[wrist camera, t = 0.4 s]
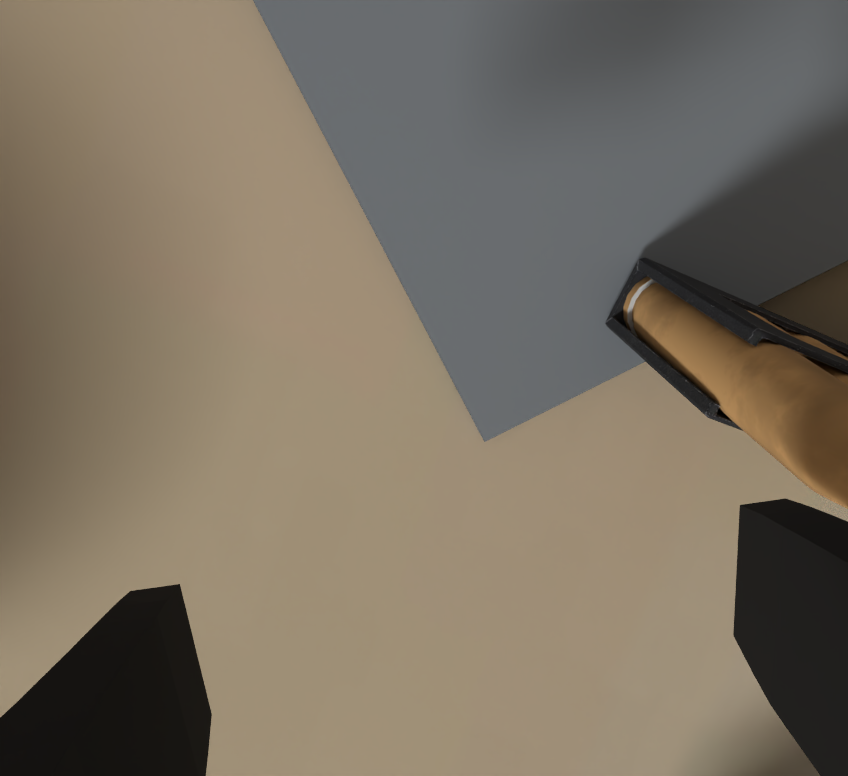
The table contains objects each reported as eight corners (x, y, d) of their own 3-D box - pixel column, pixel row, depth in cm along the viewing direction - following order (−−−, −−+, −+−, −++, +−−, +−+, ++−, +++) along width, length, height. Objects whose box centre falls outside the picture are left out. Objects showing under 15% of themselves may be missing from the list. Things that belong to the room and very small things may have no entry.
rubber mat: (1068, 141, 19) (1082, 142, 19) (481, 435, 20) (484, 442, 20) (954, -554, 14) (970, -571, 14) (191, -119, 15) (188, -123, 15)
